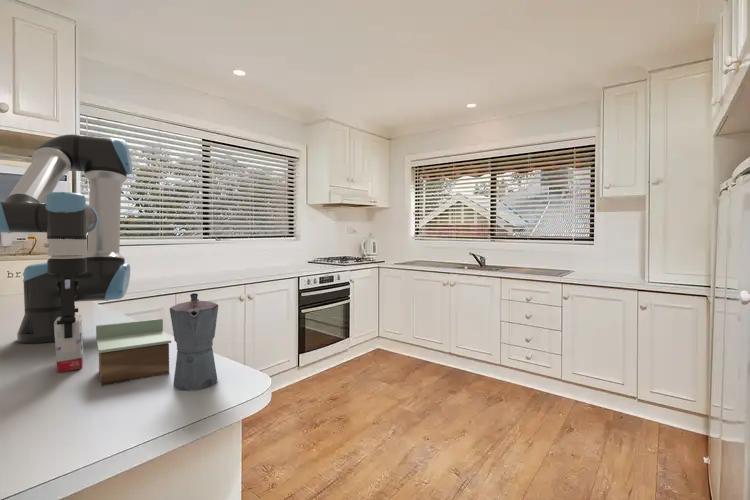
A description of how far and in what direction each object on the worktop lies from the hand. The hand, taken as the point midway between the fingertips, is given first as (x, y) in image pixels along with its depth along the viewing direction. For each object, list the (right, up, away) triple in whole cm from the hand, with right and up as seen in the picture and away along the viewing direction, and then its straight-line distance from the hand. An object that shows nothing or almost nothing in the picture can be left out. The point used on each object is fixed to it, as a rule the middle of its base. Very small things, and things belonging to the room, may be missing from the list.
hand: (68, 345), depth 96 cm
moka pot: (+34, -6, -9) cm, 36 cm away
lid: (+18, +2, -3) cm, 18 cm away
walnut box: (+18, -6, -3) cm, 19 cm away
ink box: (0, -6, +1) cm, 6 cm away
